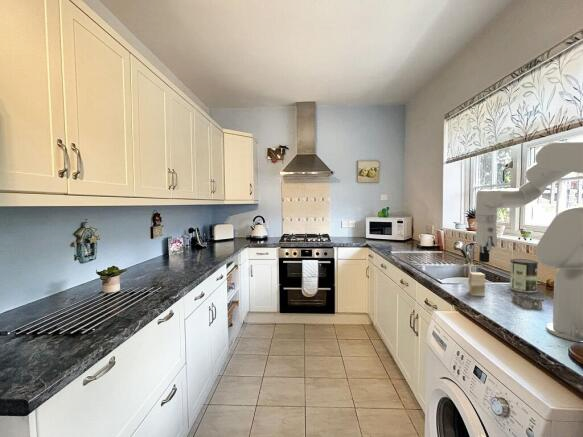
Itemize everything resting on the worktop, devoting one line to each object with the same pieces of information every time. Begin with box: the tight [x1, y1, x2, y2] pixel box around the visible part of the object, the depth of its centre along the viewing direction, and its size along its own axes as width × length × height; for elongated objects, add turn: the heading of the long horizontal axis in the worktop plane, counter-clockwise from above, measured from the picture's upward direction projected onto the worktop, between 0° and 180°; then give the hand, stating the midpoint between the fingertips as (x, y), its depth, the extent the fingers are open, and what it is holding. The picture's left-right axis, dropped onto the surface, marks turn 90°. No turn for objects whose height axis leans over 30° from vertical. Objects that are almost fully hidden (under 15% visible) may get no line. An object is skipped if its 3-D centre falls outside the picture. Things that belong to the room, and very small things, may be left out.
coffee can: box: [509, 258, 539, 294], centre depth 138 cm, size 10×10×14 cm
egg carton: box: [510, 292, 545, 310], centre depth 119 cm, size 11×8×4 cm
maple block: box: [467, 271, 486, 298], centre depth 132 cm, size 5×5×10 cm
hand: (484, 261), depth 123 cm, fingers closed
